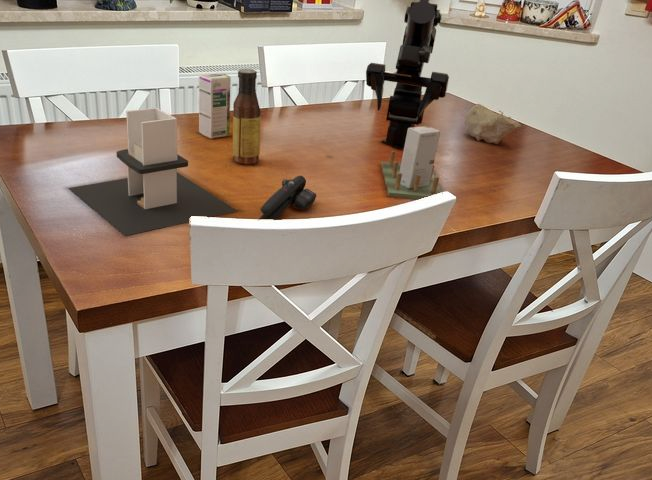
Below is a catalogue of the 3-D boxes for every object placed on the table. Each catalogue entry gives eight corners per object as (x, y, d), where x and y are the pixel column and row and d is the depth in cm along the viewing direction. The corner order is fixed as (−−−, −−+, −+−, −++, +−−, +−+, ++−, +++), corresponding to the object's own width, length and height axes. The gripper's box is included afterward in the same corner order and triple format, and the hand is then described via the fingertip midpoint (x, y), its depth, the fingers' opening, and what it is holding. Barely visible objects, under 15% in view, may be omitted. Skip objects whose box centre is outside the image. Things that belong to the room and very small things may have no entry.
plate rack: (380, 165, 157) (384, 147, 154) (430, 170, 157) (434, 151, 154) (387, 196, 140) (391, 176, 138) (443, 202, 140) (448, 181, 138)
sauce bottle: (263, 160, 153) (269, 71, 142) (250, 167, 148) (255, 75, 137) (239, 154, 155) (243, 65, 144) (226, 161, 151) (229, 70, 139)
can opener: (290, 195, 137) (292, 168, 134) (319, 203, 134) (322, 177, 131) (244, 221, 124) (246, 193, 121) (276, 231, 121) (278, 203, 118)
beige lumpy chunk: (456, 137, 189) (458, 112, 174) (472, 117, 188) (475, 91, 174) (499, 166, 185) (505, 143, 170) (516, 145, 184) (523, 121, 170)
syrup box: (211, 139, 163) (212, 78, 155) (198, 132, 167) (198, 72, 159) (229, 136, 166) (231, 76, 158) (216, 129, 170) (217, 71, 162)
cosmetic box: (409, 189, 142) (421, 133, 135) (396, 182, 145) (406, 127, 138) (430, 185, 145) (442, 131, 138) (416, 179, 148) (427, 125, 141)
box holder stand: (67, 188, 131) (58, 103, 121) (173, 170, 144) (173, 92, 134) (125, 235, 115) (119, 143, 106) (238, 210, 128) (242, 126, 119)
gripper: (374, 24, 146) (356, 86, 144) (458, 35, 142) (441, 99, 140) (375, 55, 157) (358, 113, 155) (452, 66, 153) (437, 126, 151)
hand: (398, 112), depth 150 cm, fingers open, 9 cm apart
